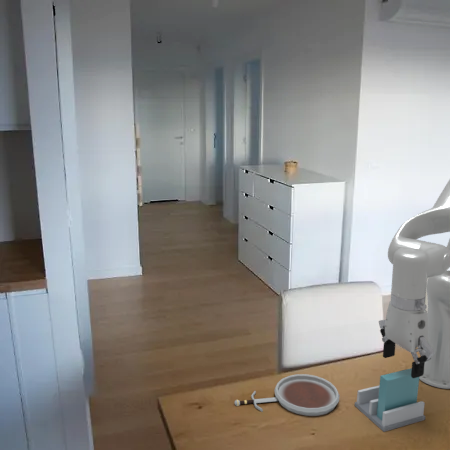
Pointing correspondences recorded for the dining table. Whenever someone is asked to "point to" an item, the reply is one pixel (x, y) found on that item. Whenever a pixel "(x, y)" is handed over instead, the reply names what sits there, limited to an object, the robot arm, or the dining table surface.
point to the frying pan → (302, 395)
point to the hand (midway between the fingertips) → (402, 366)
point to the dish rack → (391, 418)
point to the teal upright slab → (396, 391)
